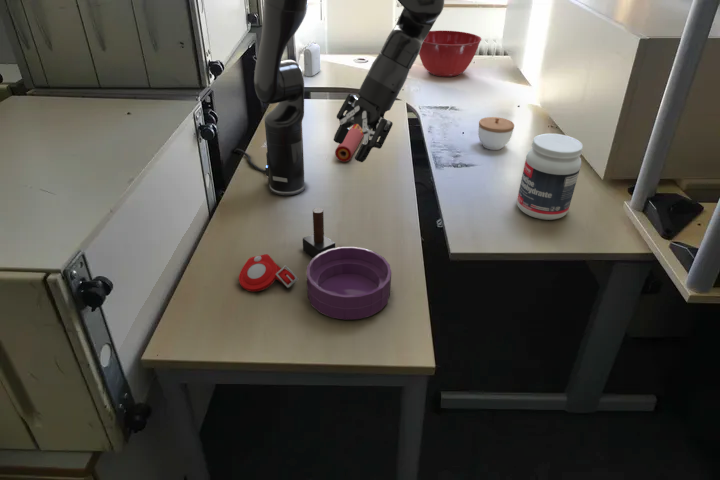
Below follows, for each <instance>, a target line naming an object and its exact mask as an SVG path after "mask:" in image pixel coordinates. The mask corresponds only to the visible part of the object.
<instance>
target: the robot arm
mask: <svg viewBox="0 0 720 480" xmlns="http://www.w3.org/2000/svg"><path fill="white" fill-rule="evenodd" d="M397 2H398V3H399V4H400V5H401V6H402V7H403V9H402V11H401V13H400V15H399V16H398V18H397V19H398V20H397V21H396V23H395V26H394V27H393V29H392V30H391V31H390V33H389V34H388V35H387V38H386V39H385V41H384V43H383V45H382V47H381V49H380V51H379V53H378V55H376V58H375V59H374V61H373V62H372V64H371V67H370V68H369V70H368V71H367V74H366V76H365V78H364V79H363V81H362V84H361V85H360V87H359V90H358V91H357V94H358V96H356V95H354V94H351V93H348V94H347V96H346V97H345V100H344V102H343V103H342V105H341V107H340V108H339V111H338V112H337V114H336V119H337V120H339V126H338V127H337V129H336V132H335V133H334V136H333V142H335V143H336V144H338V145H339V144H342V143H343V141H344V139H345V137H346V135H347V133H348V131H349V130H350V129H351V128H352V127H353V125H354V124H359V126H360V127H361V128H362V132H363V134H364V136H363V143H361V144H360V146H359V148H358V150H357V151H356V154H355V155H354V160H355V161H357V162H360V163H363V162H365V161H366V160H367V158H368V156H369V154H370V153H371V151H372V149H374V148H376V149H379V150H381V149H382V147H383V145H384V143H385V141H386V139H387V138H388V136H389V133H390V131H391V129H392V127H393V124H394V123H393V121H391V120H388V119H386V118H385V114H386V112H387V111H391V109H392V107H393V105H394V104H395V102H396V100H397V98H398V96H399V94H400V92H401V91H402V88H403V87H404V84H405V83H406V81H407V79H408V76H409V73H410V71H411V69H412V68H413V65H414V64H415V62H416V60H417V58H418V56H419V52H420V49H421V47H422V43H423V41H424V40H425V38H426V36H427V35H428V33H429V31H432V28H433V26H434V25H435V23H436V22H437V20H438V18H439V17H440V15H441V14H442V12H443V10H444V7H445V0H397ZM308 6H309V0H263V11H262V12H263V13H262V15H263V16H262V22H261V23H262V24H261V31H260V39H259V44H258V51H257V55H256V60H255V67H254V75H253V84H254V85H253V86H254V91H255V95H256V96H257V99H258V100H259V101H260V102H261V103H263V104H265V105H273V104H276V106H274V108H273V109H272V110H270V111H269V112H267V114H265V117H264V128H265V141H266V142H265V143H266V152H265V157H266V158H265V159H266V166H265V168H264V169H262V168H260V167H259V166H257V165H255V164H254V163H253V162H252V158H251V156H250V155H249V154H248V153H247V152H246V151H244V150H243V149H242V148H241V149H240V148H236V149H234V150H233V153H237V152H240V153H241V154H243V155H245V156H246V158H247V160H248V164H249V165H250V166H251V167H252V168H253V169H255V170H257V171H258V172H261V173H263V174H264V173H265V176H266V177H267V179H268V180H267V182H268V186H269V191H270V192H271V193H273V194H275V195H278V196H285V197H286V196H294V195H299V194H301V193H302V192H304V190H305V189H306V182H305V161H304V159H305V158H304V138H303V137H304V136H303V120H304V117H305V78H304V73H303V71H302V67H301V66H300V64H299V63H298V62H297V61H296V60H293V59H283V55H284V53H285V50H286V48H287V46H288V45H289V43H290V41H291V40H292V38H293V37H294V36H295V34H296V33H297V31H298V30H299V28H300V26H301V25H302V23H303V22H304V20H305V18H306V15H307V11H308ZM282 59H283V60H282Z"/></svg>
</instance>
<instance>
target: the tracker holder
mask: <svg viewBox="0 0 720 480" xmlns="http://www.w3.org/2000/svg"><path fill="white" fill-rule="evenodd" d="M276 280H277V281H278V282H279V283H281V285H283V286H285V287H286V288H287V289H289V288H290V287H291V286H292V285H294V284H295V283H296V282H297V281H298V280H299V278H298V277H297V275H296V274H295V273H294V272H293V271H292V270H291V269H290V268H289V266H287V265H284V266H283V267H280V266H279V265H278V264H277V263H276V262H275V261H274V260H273V258H272V257H271V255H270V254H268V253H264V254H259V255H255V256H251V257H249V258H248V259H247V260H246V262H245V263H244V265H243V266H242V268H241V269H240V272H239V274H238V282H239V284H240V286H241V287H242V288H243V289H244V290H245V291H248V292H255V293H256V292H261V291H263V290H265V289H267V288H269V287H270V286H271V285H273V284H274V282H275V281H276Z"/></svg>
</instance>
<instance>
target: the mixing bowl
mask: <svg viewBox="0 0 720 480" xmlns="http://www.w3.org/2000/svg"><path fill="white" fill-rule="evenodd" d="M481 41H482V38H481V36H479V35H477V34H474V33H470V32H465V31H457V30H430V31H429V33H428V35H427V36H426V38H425V40H424V41H423V43H422V47H421V49H420V52H419V54H418V56H419V59H420V62H421V63H422V66H423V68H424V69H425V70H426V71H427V72H428V73H430V74H431V75H433V76H435V77H444V78H446V77H448V78H449V77H450V78H451V77H456V76H459V75H461V74H462V73H464V72H465V71H466V70H467V69H468V68H469V66H470V64H471V63H472V61H473V59H474V57H475V56H476V54H477V51H478V48H479V46H480V43H481Z"/></svg>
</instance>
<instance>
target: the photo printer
mask: <svg viewBox="0 0 720 480" xmlns="http://www.w3.org/2000/svg"><path fill="white" fill-rule="evenodd" d="M303 68H304V69H303V71H304V73H303V74H304V76H305V77H314V76H315V75H317V74H318V73H320V72H321V47H320V45H319V44H318V43H310V44H308V45H307V46H306V47H304V50H303Z"/></svg>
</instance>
